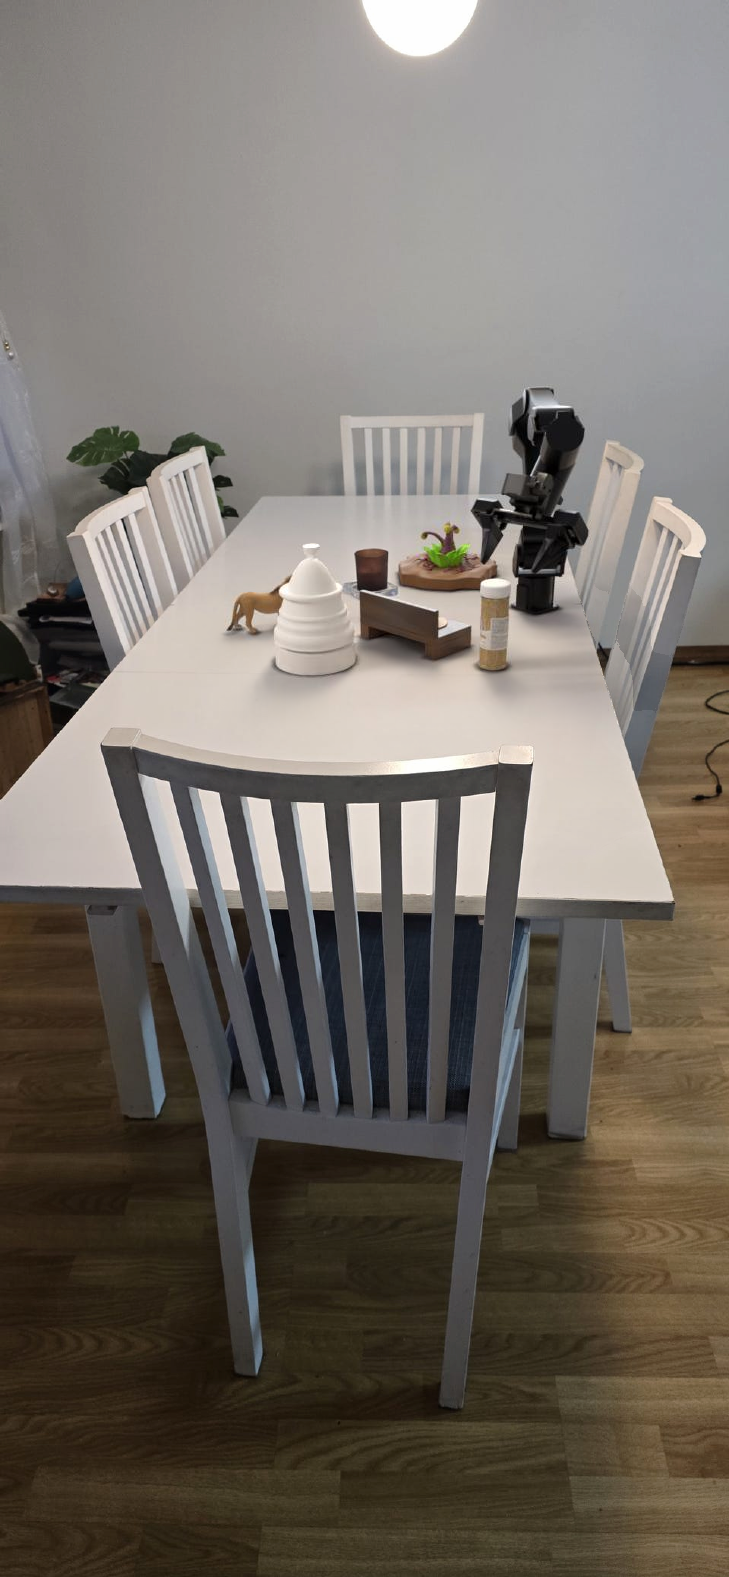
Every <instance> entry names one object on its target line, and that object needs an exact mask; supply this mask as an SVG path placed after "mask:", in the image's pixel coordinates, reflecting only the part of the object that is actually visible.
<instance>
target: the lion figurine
mask: <svg viewBox="0 0 729 1577" xmlns="http://www.w3.org/2000/svg"><path fill="white" fill-rule="evenodd" d="M292 575H293V573H290V575H287V576H286V577H285V578H284V581H282V582H281V583H280V584H279V585H277V586H276V587H275V588H274V589H273V590H271V591H270V592H266V593H263V592H262V593H259V592H253V591H247V592H244V593H241V594H240V595H239V596H238V597H237V598H236V599H235V602H234V605H233V609H232V617H231V622H230V625H229V626H228V627H227V629H226V631H227V632H230V631H232V629H233V628H234V629H236V630H241V629H242V628H243V626H242V624H240V623H239V621H240V620H241V619H242V618H244V617H245V626H246V627H247V629H248V630H249V632H250V633H251V634H258V632H259V630H258V628H255V627H253V625H252V620H253V618H254V614H255V611H257V612H258V613H261V614H263V615H273V614H277V616H278V617H279V609H280V608H281V606H282V602H283V598H282V597H281V596H280V595H279V589H280V588H281V587H282V586H283V585H285V584H287V583H289V581H290V579H291V577H292ZM278 617H277V618H278Z"/></svg>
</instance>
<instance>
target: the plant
mask: <svg viewBox="0 0 729 1577" xmlns="http://www.w3.org/2000/svg"><path fill="white" fill-rule="evenodd" d="M443 531H444V532H445V537H444V538H443V537H442V536H441V535H440V534H438V533H437V532H434V531H423V532H421V534H420V538H421V540H426V539H427V538H428V535H432V536H434V537H435V538H436V539H437V540H438V541H439V542H438V545H436V544H435V543H431V544H430V546H431V548H430V547H427V546H421V548H422V549H423V551H425V552H422V553H420V554H418V553H417V554H414V555H408V556H407V557H406V559H403V560H401V561H400V562H398V576H399V579H400V583H401V585H402V586H409V587H414V588H418V589H423V590H431V591H434V590H436V591H455V590H480V587H481V582H482V581H484V580H488V579H492V578H493V577H495V576H497V575H498V565H497V561H496V560H495V559H492V558H490V559H489V560H488V561H487V563H486V564H485V565H483V564H482V563H481V561H480V560H481V553H480V554H479V553H469V550H468V549H469V547H470V546H471V543H464V544H463V545H461V546H459V547H458V548H457V545H456V542H455V540H454V534H456V535H458V534H459V533H460V527H458V526H457V525H456V524H452V525H451V523H450V521H447V522H446V523H445V525H444V526H443Z"/></svg>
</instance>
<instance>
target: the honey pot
mask: <svg viewBox="0 0 729 1577" xmlns="http://www.w3.org/2000/svg"><path fill="white" fill-rule="evenodd" d="M302 550H303V553H304V555H305V556H306V557H305V558H304V559H303V560H301V562H299V564H298V565H297V566H296V567H295V569H294V571H293V573H292V574H293V575H292V577H291V579H290V581H289V583H287V584H285V585H283V586H282V587H281V588H280V589H279V595H280V596H281V597H282V598H283V602H282V606H281V608H280V609H279V617H277V619H276V625H275V626H274V630H273V641H274V642H273V643H274V656H275V666H276V667H277V668H278V669H279V670H281V671H282V672H283V671H284V672H285V673H289V674H293V675H300V676H324V675H330V674H335V673H339V672H342V671H345V670H347V669H349V668H350V667H352V666H354V664H355V662H356V659H357V658H356V640H355V638H356V635H355V632H356V631H355V627H354V623H353V622H352V621H351V616H350V614H349V613H348V607H347V605H346V604H345V603H344V599H343V597H342V594H343V592H344V588H343V586H342V585H341V584H340V583H338V582H336V581H335V579H334V578H333V575H332V574H331V573H330V572H331V571H330V570H328V567H327V566H326V565H325V564H324V563H323V562H322V561H321V560H320V559H319V558H316V557H317V556H318V554H319V552H320V544H318V543H305V544H303V545H302Z"/></svg>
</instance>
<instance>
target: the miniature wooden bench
mask: <svg viewBox="0 0 729 1577" xmlns="http://www.w3.org/2000/svg"><path fill="white" fill-rule="evenodd" d="M358 595H359V623H360V624H359V625H360V637H361V638H364V639H367V640H370V639H373V638H375V637H378V636H382V635H385V634H388V633H390V634H393V635H396V636H400V637H403V638H405V639H409V640H412V641H414V642H415V641H416V642H418V643H423V644H425V645H424V651H425V653H424V657H425V658H427V659H429V660H433V661H436V660H438V659H440V658H443V657H446V656H448V655H451V654H454V653H457V652H458V651H462V650H464V649H466V648H469V647H471V646H472V625H470V624H467V623H463V622H460V621H456V620H452V619H449V618H447V617H442V616H440V611H439V609H435V608H431V607H428V606H424V605H421V604H417V603H413V602H411V601H410V602H409V601H405V600H403V599H399V598H395V597H391V596H388V595H385V594H381V593H377V592H373V591H369V590H366V589H361V590H359V594H358Z"/></svg>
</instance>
